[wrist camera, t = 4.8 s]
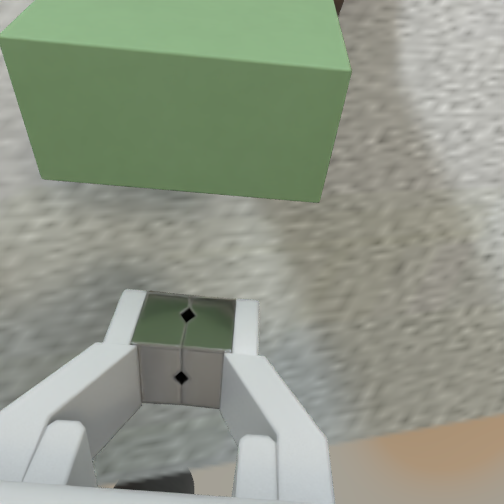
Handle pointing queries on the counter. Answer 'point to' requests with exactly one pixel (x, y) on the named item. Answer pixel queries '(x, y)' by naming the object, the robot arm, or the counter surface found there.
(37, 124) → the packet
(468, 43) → the counter surface
